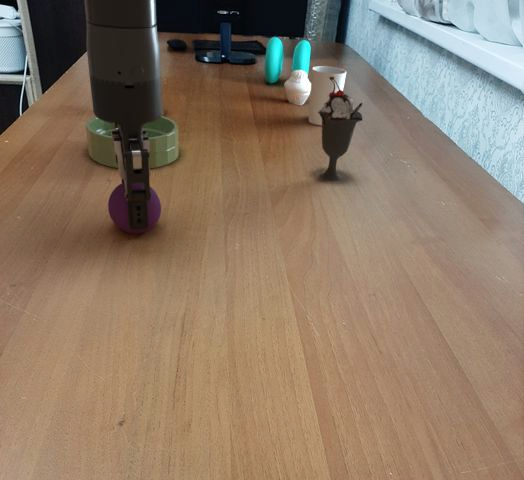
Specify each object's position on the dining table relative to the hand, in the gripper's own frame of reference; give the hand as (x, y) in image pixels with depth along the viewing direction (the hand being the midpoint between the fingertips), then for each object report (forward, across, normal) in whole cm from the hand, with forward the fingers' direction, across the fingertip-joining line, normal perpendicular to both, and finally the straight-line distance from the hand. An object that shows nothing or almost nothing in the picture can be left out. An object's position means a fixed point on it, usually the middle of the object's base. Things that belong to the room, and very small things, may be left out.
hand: (135, 215), depth 71 cm
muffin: (+2, -58, +42) cm, 71 cm away
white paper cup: (+2, -43, +42) cm, 60 cm away
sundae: (+2, -14, +32) cm, 35 cm away
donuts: (+2, -74, +45) cm, 87 cm away
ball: (-1, 0, 0) cm, 1 cm away
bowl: (+2, -27, +3) cm, 27 cm away
